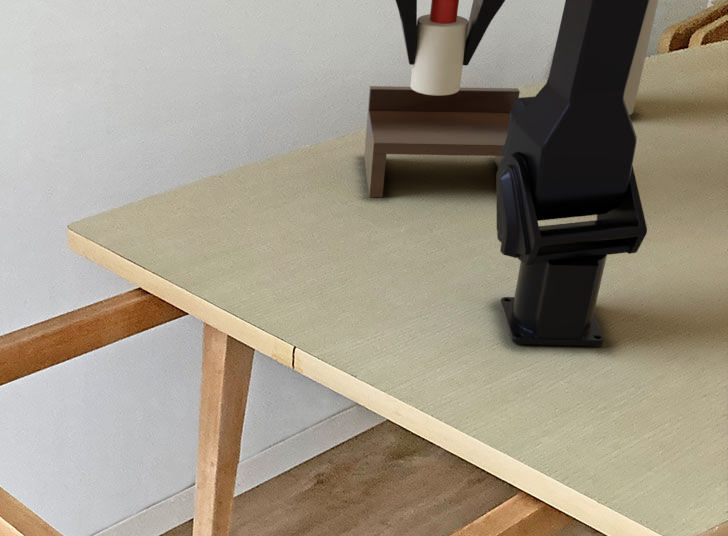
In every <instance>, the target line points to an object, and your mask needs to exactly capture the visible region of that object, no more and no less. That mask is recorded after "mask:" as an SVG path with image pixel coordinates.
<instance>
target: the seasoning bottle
mask: <svg viewBox="0 0 728 536" xmlns="http://www.w3.org/2000/svg"><path fill="white" fill-rule="evenodd" d="M459 4H460V0H431V3H430V13H429V14H424V15H420V16H419V17H417V47H416V55H415V61H414V65H411V67H412V68H411V75H410V86H409V87H411V89H412V90H414V91H416V92H418V93H422V94H426V95H437V96H441V95H450V94H454V93H456V92H458V91H459V90H460V88H461V81H462V74H463V69H464V68H463V67H464V65H463V60H464V53H465V45H466V38H467V30H468V23H469V19H467V18H466V17H463V16H461V15H458V12H459Z"/></svg>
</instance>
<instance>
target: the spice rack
mask: <svg viewBox="0 0 728 536" xmlns="http://www.w3.org/2000/svg"><path fill="white" fill-rule="evenodd" d="M368 91H369V92H368V106H367V118H366V128H365V129H366V130H365V131H366V132H365V141H364V142H365V143H364V154H363V155H364V156H363V157H364V158H363V159H364V166H365V174H366V181H367V188H368V196H369V198H383V196H384V185H385V176H386V175H385V173H386V164H387V163H386V161H387V155H405V156H406V155H408V156H409V155H410V156H411V155H413V156H415V155H416V156H465V157H466V156H471V157H473V156H474V157H494V162H495V165H496V167H497V169H498V168H499V165H500V162H501V160H502V159H503V157H504V156H502V155H501V151H502V148H503V146H504V144H505V141H506V137H507V134H508V128H509V120H510V112H511V109H512V107H513V106H514V104H515V102H516V100H517V99H518V98H520V93H521V92H520V89H519V88H518V87H517V88H515V87H460V90H459V91H458V92H456V93H454V94H450V95H441V96H437V95H426V94H422V93H418V92H416V91H414V90H412V89H411V87H410V86H388V85H387V86H386V85H384V86H383V85H381V86H379V85H369V90H368Z"/></svg>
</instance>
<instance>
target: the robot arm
mask: <svg viewBox="0 0 728 536" xmlns="http://www.w3.org/2000/svg"><path fill="white" fill-rule="evenodd" d="M649 1H650V0H565V1H564V6H563V10H562V15H561V20H560V23H559V24H560V25H559V29H558V34H557V37H556V42H555V47H554V51H553V55H552V56H553V57H552V60H551V64H550V70H549V73H548V77H547V80H546V83H545V84H544V86H543V87H541V89H539V91H538V92H537V93H536V95H535V96H524V97H519V98H518V99H517V100H516V102H515V104H514V106H513V107H512V109H511V112H510V120H509V128H508V134H507V137H506V141H505V144H504V146H503V148H502V151H501V155H502V156H504V157H503V159H502V160H501V162H500V165H499V168H498V167H497V171H496V173H495V177H496V182H495V183H496V187H495V188H496V231H497V233H496V235H497V236H496V237H497V240H498V242H500V249H499V252H500V253H501V255H503V256H506V257H509V258H510V257H511V258H513V259H518V260H519V261H520V263H519V268H518V274H517V281H516V285H515V292H514V296H503V297H501V298H500V302H499V306H500V309H501V312H502V316H503V319H504V322H505V324H506V329H507V332H508V334H509V337H510V341H511V342H512V343H514V344H518V345H545V346H546V345H549V346H551V345H552V346H553V345H554V346H588V347H589V346H590V347H591V346H592V347H594V346H595V347H599V346H603V345H604V343H605V340H606V339H605V335H604V333H603V331H602V329H601V327H600V325H599V322H598V321H597V318H596V316H595V309H596V306H597V300H598V296H599V292H600V288H601V283H602V279H603V274H604V270H605V266H606V261H607V256H608V255H618V254H629V255H630V254H636V253H637V252H638V251H639V249H640V247H641V246H642V243H643V242H644V239H645V238H646V236H647V234H648V225H647V222H646V218H645V214H644V213H645V212H644V209H643V205H642V200H641V196H640V191H639V187H638V183H637V179H636V175H635V170H634V165H633V163H634V158H635V153H636V148H637V142H638V141H637V139H638V136H637V134H636V131H635V128H634V124H633V122H632V119H631V115H629V113H628V110H627V107H626V104H625V101H624V95H625V90H626V86H627V82H628V78H629V75H630V71H631V67H632V64H633V60H634V56H635V53H636V49H637V45H638V42H639V38H640V34H641V30H642V27H643V23H644V19H645V16H646V12H647V8H648V5H649ZM505 2H506V0H472V5H471V8H470V13H469V17H468V22H469V23H468V30H467V38H466V45H465V53H464V60H463V66H468V65H469V64H470V62H471V60H472V58H473V57H474V55H475V52H476V51H477V49H478V47H479V45H480V43H481V41H482V39H483V37H484V36H485V33H486V32H487V30H488V28H489V26H490V24H491V22H492V21H493V19H494V18H495V17H496V15H497V13H498V12H499V11H500V9H501V8H502V6H503V5H504V3H505ZM395 3H396V7H397V9H398V14H399V19H400V25H401V29H402V35H403V40H404V45H405V50H406V57H407V61H408V64H409V65H410V66H413V65H414V61H415V55H416V47H417V19H418V0H395ZM588 216H589V217H590V216H596V220H587V221H586V220H585V221H576V222H567V223H558V224H556V223H555V224H550V225H549V224H547V225H539V222H541V221H549V220H559V219H561V220H562V219H570V218H578V217H579V218H581V217H588Z"/></svg>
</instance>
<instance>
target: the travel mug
mask: <svg viewBox="0 0 728 536" xmlns="http://www.w3.org/2000/svg"><path fill="white" fill-rule="evenodd" d="M658 3H659V0H650V1H649V5H648V8H647V12H646V16H645V19H644V23H643V27H642V30H641V34H640V38H639V42H638V45H637V49H636V53H635V56H634V60H633V64H632V67H631V71H630V75H629V78H628V82H627V86H626V90H625V95H624V101H625V104H626V107H627V110H628V113H629V116H631V115H632V114H633V113H634V110H635V105H636V101H637V96H638V92H639V87H640V82H641V79H642V75H643V70H644V66H645V61H646V57H647V52H648V47H649V43H650V39H651V35H652V29H653V26H654V20H655V17H656V12H657V7H658Z"/></svg>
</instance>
